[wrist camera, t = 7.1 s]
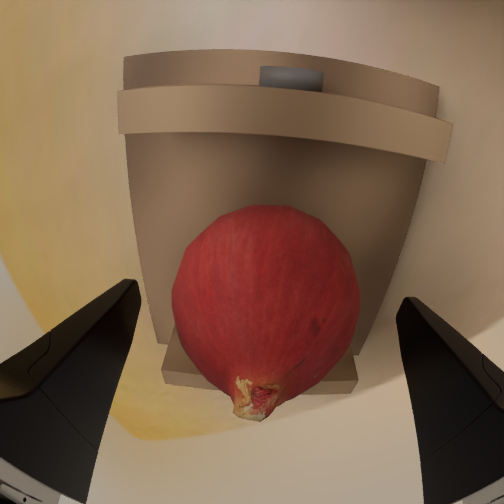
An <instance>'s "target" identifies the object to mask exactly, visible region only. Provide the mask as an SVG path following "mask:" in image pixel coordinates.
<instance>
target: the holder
mask: <svg viewBox="0 0 504 504" xmlns="http://www.w3.org/2000/svg"><path fill="white" fill-rule="evenodd" d="M123 81H124V90H122V91H117V102H118V127H119V134H125V141H126V155H127V167H128V178H129V187H130V196H131V205H132V212H133V220H134V227H135V234H136V240H137V246H138V252H139V258H140V264H141V269H142V275H143V280H144V285H145V290H146V295H147V299H148V304H149V309H150V313H151V317H152V322H153V326H154V330H155V334H156V338H157V342H158V343H160V344H167V345H168V348H167V351H166V355H165V358H164V361H163V365H162V368H161V371H162V374H163V378H164V381H165V383H166V384H172V385H179V386H186V387H194V388H202V389H212V390H220V389H218V388H217V387H215V386H214V385H213V384H211V383H210V382H208V381H207V380H206V379H205V377H204V376H203V375H202V374H201V373H200V371H199V370H198V369H197V368H196V366H195V365H194V364H193V362H192V361H191V360H190V358H189V357H188V356H187V354H186V352H185V351H184V349H183V347H182V346H181V343H180V340H179V337H178V333H177V329H176V325H175V320H174V316H173V311H172V296H171V291H172V288H173V284H174V281H175V278H176V275H177V272H178V269H179V267H180V264H181V261H182V258H183V255H184V252H185V249H186V248H187V247H188V245H189V244H190V243H191V242H192V241H193V240H194V239H195V238H196V237H197V236H198V235H199V234H200V233H202V232H203V231H204V230H205V229H206V228H207V227H208V226H209V225H210V224H211V223H213V222H214V221H215V220H216V219H217V218H218V217H219V216H222V215H225V214H227V213H230V212H233V211H236V210H239V209H241V208H244V207H247V206H250V205H289V206H291V207H294V208H296V209H298V210H300V211H303V212H305V213H307V214H309V215H312V216H314V217H316V218H318V219H320V220H321V221H322V222H323V223H324V224H325V225H326V226H327V227H328V228H329V229H330V230H331V231H332V232H333V233H334V234H335V236H336V237H337V238H338V239H339V240H340V241H341V242H342V244H343V245H344V247H345V248H346V249H347V251H348V252H349V254H350V257H351V261H352V264H353V267H354V271H355V274H356V278H357V281H358V285H359V289H360V293H361V301H360V312H359V316H358V320H357V324H356V328H355V332H354V336H353V338H352V341H351V343H350V346H349V348H348V349H347V351H346V352H345V354H344V355H343V356H342V358H341V359H340V360H339V361H338V362H337V364H336V365H335V366H334V367H333V368H332V369H331V370H330V371H329V372H328V374H327V375H326V376H325V377H324V378H323V379H322V380H321V381H320V382H319V383H318V384H316V385H315V386H313V387H311V388H310V389H308V390H307V391H305V392H303V393H301V394H348V393H351V392H352V391H353V389H354V387H355V386H356V384H357V382H358V375H357V371H356V366H355V362H354V357H353V355H359V353H360V351H361V349H362V346H363V344H364V342H365V340H366V338H367V336H368V333H369V331H370V329H371V327H372V324H373V322H374V320H375V318H376V315H377V313H378V311H379V308H380V306H381V303H382V301H383V298H384V296H385V293H386V291H387V288H388V286H389V283H390V281H391V278H392V275H393V273H394V270H395V267H396V264H397V261H398V259H399V256H400V253H401V250H402V247H403V244H404V241H405V238H406V235H407V232H408V228H409V225H410V222H411V219H412V215H413V212H414V208H415V205H416V201H417V197H418V194H419V190H420V186H421V182H422V178H423V174H424V170H425V165H426V161H427V159H428V160H432V161H436V162H440V163H444V164H445V161H446V157H447V152H448V147H449V143H450V138H451V133H452V127H453V124H451V123H448V122H445V121H443V120H440V119H437V118H435V114H436V108H437V101H438V93H439V86H436V85H433V84H430V83H427V82H424V81H421V80H418V79H415V78H412V77H408V76H405V75H402V74H398V73H394V72H391V71H387V70H383V69H379V68H375V67H371V66H367V65H362V64H357V63H353V62H348V61H342V60H337V59H331V58H325V57H318V56H311V55H304V54H295V53H286V52H274V51H260V50H232V49H213V50H185V51H170V52H159V53H150V54H141V55H134V56H127V57H124V78H123Z"/></svg>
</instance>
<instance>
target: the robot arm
mask: <svg viewBox="0 0 504 504" xmlns="http://www.w3.org/2000/svg"><path fill="white" fill-rule="evenodd" d="M140 307H141V295H140V291H139V286H138V282H137V281H136V280H135V279H124V280H122V281H121V282H119V283H118V284H116V285H115V286H113V287H112V288H110V289H109V290H107V291H106V292H104V293H103V294H101V295H100V296H98V297H97V298H96V299H94V300H93V301H91V302H90V303H88V304H87V305H85V306H84V307H83V308H81V309H80V310H78V311H77V312H75V313H74V314H73V315H71V316H70V317H68V318H67V319H66V320H64V321H63V322H61V323H60V324H59V325H57V326H56V327H54V328H53V329H52V330H51V332H50V331H49V332H47V333H46V334H45V335H43V336H42V337H41V338H39V339H38V340H36V341H35V342H33V343H32V344H31V345H29V346H27V347H26V348H24V349H23V350H21V351H20V352H18V353H17V354H15V355H13V356H12V357H10V358H9V359H7V360H5V361H4V362H2V363H1V364H0V504H58V502H59V498H60V495H61V494H62V495H64V496H66V497H68V498H71V499H73V500H75V501H78V502H80V503H83V504H86V501H87V497H88V492H89V487H90V483H91V478H92V475H93V470H94V466H95V462H96V458H97V454H98V449H99V446H100V442H101V439H102V435H103V432H104V428H105V424H106V421H107V418H108V414H109V411H110V408H111V404H112V401H113V398H114V395H115V392H116V388H117V385H118V382H119V379H120V376H121V373H122V370H123V367H124V364H125V361H126V359H127V356H128V353H129V350H130V347H131V344H132V340H133V336H134V332H135V328H136V323H137V319H138V315H139V311H140ZM396 324H397V330H398V337H399V344H400V351H401V357H402V362H403V366H404V371H405V375H406V379H407V384H408V388H409V393H410V399H411V404H412V410H413V414H414V421H415V427H416V433H417V439H418V447H419V455H420V461H421V473H422V483H423V496H424V504H454V503H456V502H458V501H461V500H462V501H463V504H504V372H503V371H502V370H501V369H500V368H499V367H497V366H496V365H495V364H494V363H493V362H492V361H490V360H489V359H488V358H487V357H486V356H485V355H484V354H482V353H481V352H480V351H479V350H478V349H477V348H476V347H475V346H474V345H473V344H471V343H470V342H469V341H468V340H467V339H466V338H464V337H463V336H462V335H461V334H460V333H459V332H457V331H456V330H455V329H454V328H453V327H452V326H450V325H449V324H448V323H447V322H446V321H444V320H443V319H442V318H441V317H440V316H438V315H437V314H436V313H435V312H433V311H432V310H431V309H430V308H429V307H427V306H426V305H425V304H424V303H422V302H421V301H420V300H419V299H417V298H416V297H405V298H404V300H403V302H402V304H401V306H400V308H399V310H398V313H397V315H396Z"/></svg>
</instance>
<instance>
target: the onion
mask: <svg viewBox="0 0 504 504" xmlns="http://www.w3.org/2000/svg"><path fill="white" fill-rule="evenodd" d="M171 296H172V311H173V316H174V320H175V325H176V329H177V333H178V337H179V340H180V343H181V346H182V347H183V349H184V351H185V352H186V354H187V356H188V357H189V358H190V360H191V361H192V362H193V364H194V365H195V366H196V368H197V369H198V370H199V371H200V373H201V374H202V375H203V376H204V377H205V379H206V380H207V381H208V382H210V383H211V384H213V385H214V386H215V387H217V388H218V389H220V390H221V391H223V392H224V393H226V394H227V395H228V396H230V397H231V399H232V401H233V404H234V409H233V413H234V414H235V415H236V416H238V417H239V418H243V419H247V420H253V421H259V422H261V421H262V420H264V419H265V418H267V417H268V416H269V415H270V414H271V413H272V412H273V411H274V409H275V408H276V407H277V406H279V405H281V404H282V403H284V402H285V401H287V400H290V399H293V398H295V397H296V396H298V395H300V394H301V393H303V392H305V391H307V390H308V389H310V388H311V387H313V386H315V385H316V384H318V383H319V382H320V381H321V380H322V379H323V378H324V377H325V376H326V375H327V374H328V372H329V371H330V370H331V369H332V368H333V367H334V366H335V365H336V364H337V362H338V361H339V360H340V359H341V358H342V356H343V355H344V354H345V352H346V351H347V349H348V348H349V346H350V343H351V341H352V338H353V336H354V332H355V328H356V324H357V320H358V316H359V312H360V301H361V293H360V289H359V285H358V281H357V278H356V274H355V271H354V267H353V264H352V261H351V257H350V254H349V252H348V251H347V249H346V248H345V247H344V245H343V244H342V242H341V241H340V240H339V239H338V238H337V237H336V236H335V234H334V233H333V232H332V231H331V230H330V229H329V228H328V227H327V226H326V225H325V224H324V223H323V222H322V221H321V220H320V219H318V218H316V217H314V216H312V215H309V214H307V213H305V212H303V211H300V210H298V209H296V208H294V207H291V206H289V205H250V206H247V207H244V208H241V209H239V210H236V211H233V212H230V213H227V214H225V215H222V216H219V217H218V218H217V219H216V220H215V221H214V222H213V223H211V224H210V225H209V226H208V227H207V228H206V229H205V230H204V231H203V232H202V233H200V234H199V235H198V236H197V237H196V238H195V239H194V240H193V241H192V242H191V243H190V244H189V245H188V247H187V248H186V249H185V252H184V255H183V258H182V261H181V264H180V267H179V269H178V272H177V275H176V278H175V281H174V284H173V288H172V291H171Z"/></svg>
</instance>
